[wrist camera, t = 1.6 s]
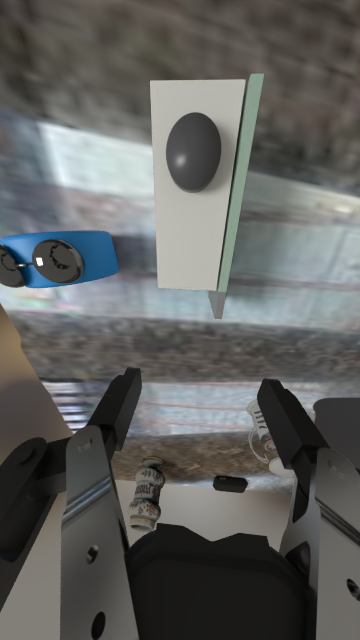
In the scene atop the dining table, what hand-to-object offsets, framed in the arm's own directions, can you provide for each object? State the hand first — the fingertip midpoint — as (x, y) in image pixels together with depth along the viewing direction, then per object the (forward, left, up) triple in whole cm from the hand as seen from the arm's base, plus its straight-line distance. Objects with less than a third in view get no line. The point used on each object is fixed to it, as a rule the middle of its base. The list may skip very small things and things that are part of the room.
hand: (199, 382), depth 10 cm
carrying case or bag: (+90, +23, -24) cm, 96 cm away
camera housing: (-11, -1, -24) cm, 26 cm away
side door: (-9, +3, -23) cm, 25 cm away
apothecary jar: (+79, -12, -24) cm, 83 cm away
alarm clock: (-5, -19, -24) cm, 31 cm away
